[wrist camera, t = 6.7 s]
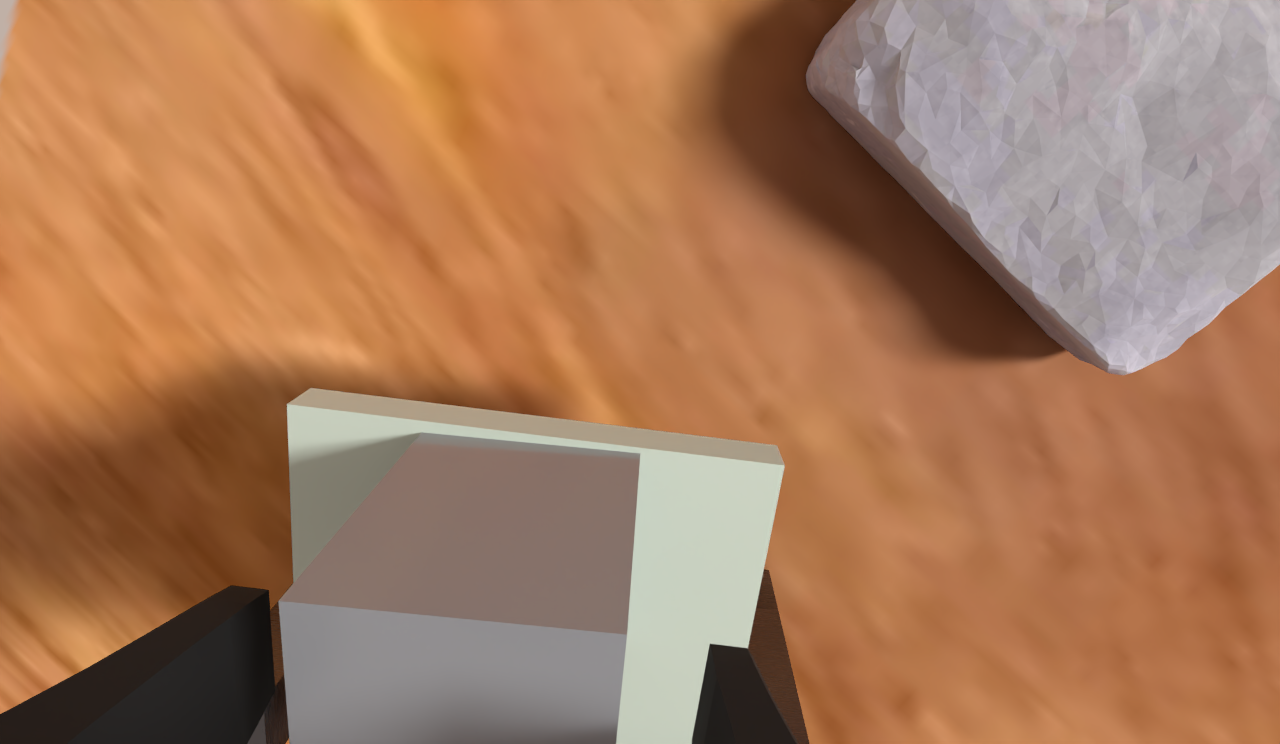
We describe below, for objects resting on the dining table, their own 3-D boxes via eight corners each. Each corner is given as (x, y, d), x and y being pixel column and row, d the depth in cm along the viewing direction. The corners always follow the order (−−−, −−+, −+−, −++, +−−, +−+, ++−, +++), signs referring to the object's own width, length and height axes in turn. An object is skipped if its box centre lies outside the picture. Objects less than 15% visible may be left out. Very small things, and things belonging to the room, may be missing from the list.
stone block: (1021, -225, 17) (758, 98, 18) (1195, -392, 13) (830, 53, 13) (1287, 109, 20) (1047, 377, 21) (1512, 73, 15) (1192, 421, 16)
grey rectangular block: (640, 453, 14) (627, 634, 9) (622, 636, 15) (601, 888, 10) (421, 432, 14) (278, 601, 9) (422, 617, 15) (298, 858, 10)
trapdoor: (694, 848, 20) (701, 982, 17) (334, 805, 20) (271, 932, 17) (777, 425, 16) (806, 494, 13) (327, 369, 16) (242, 425, 13)
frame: (758, 620, 23) (798, 834, 16) (346, 570, 23) (208, 763, 16) (768, 570, 23) (815, 769, 16) (345, 518, 23) (200, 696, 16)
